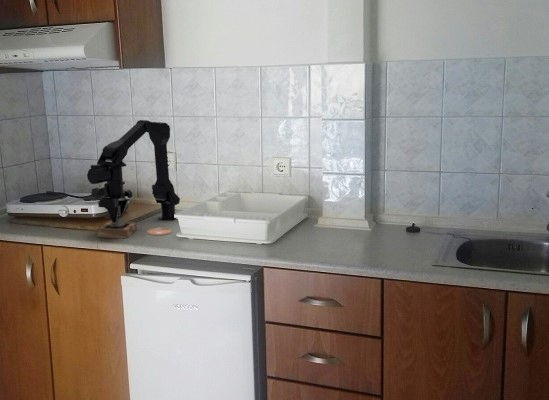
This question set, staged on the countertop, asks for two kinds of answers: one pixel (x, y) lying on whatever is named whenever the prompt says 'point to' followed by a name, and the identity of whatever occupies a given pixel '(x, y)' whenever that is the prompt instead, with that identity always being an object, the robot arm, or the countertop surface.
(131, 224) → the walnut holder
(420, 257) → the countertop surface
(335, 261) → the countertop surface
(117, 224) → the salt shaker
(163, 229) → the coaster
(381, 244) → the countertop surface
